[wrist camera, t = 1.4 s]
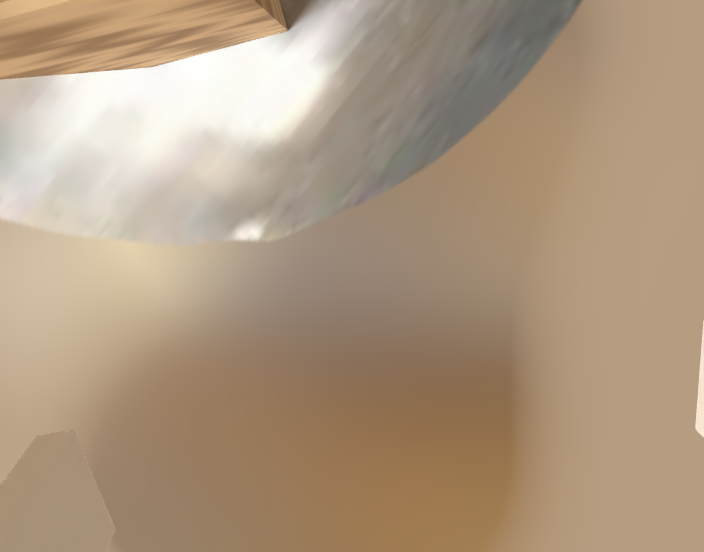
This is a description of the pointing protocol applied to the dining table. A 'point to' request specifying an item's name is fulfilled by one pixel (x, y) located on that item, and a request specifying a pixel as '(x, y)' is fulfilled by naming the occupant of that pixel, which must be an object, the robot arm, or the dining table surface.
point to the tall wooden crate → (124, 32)
